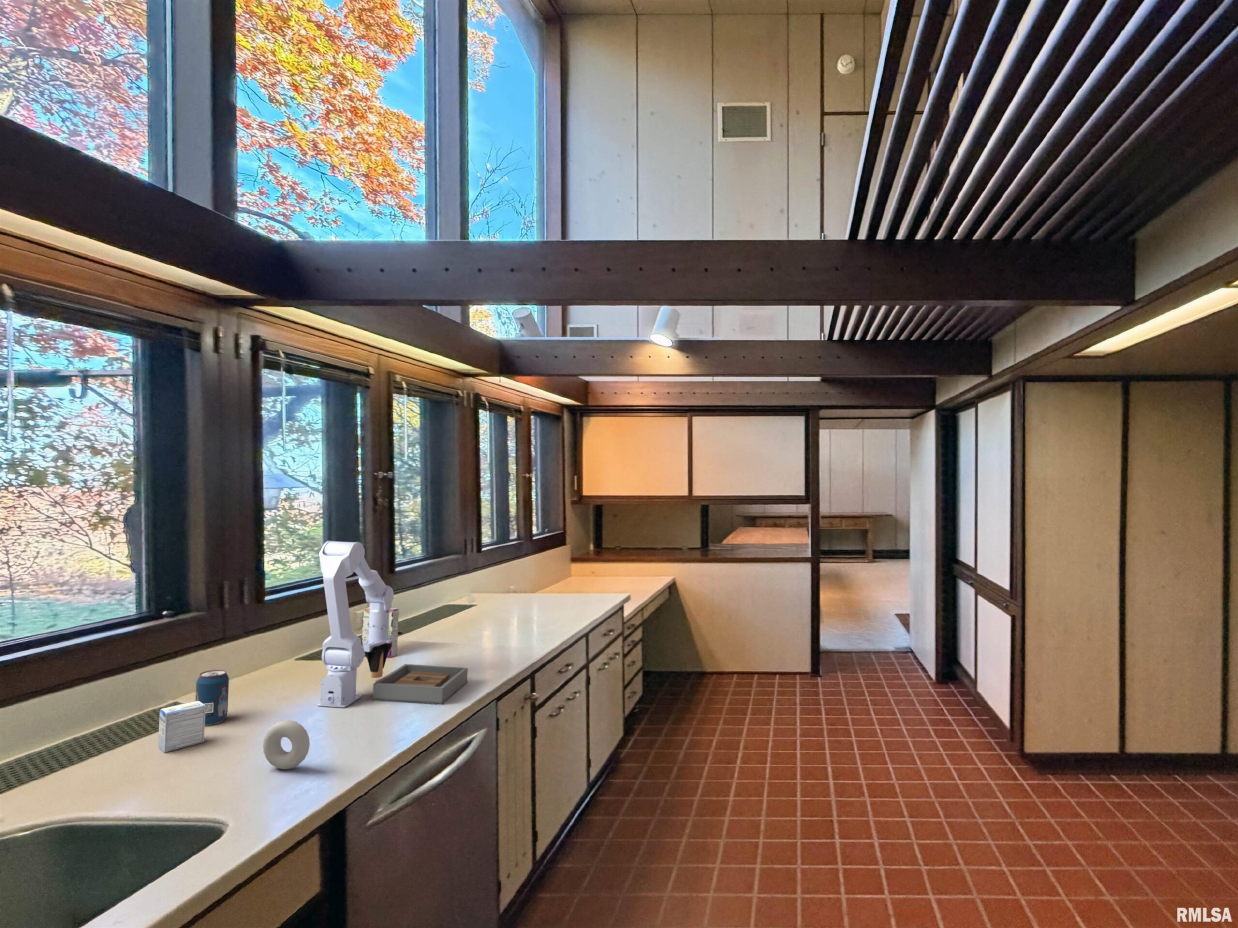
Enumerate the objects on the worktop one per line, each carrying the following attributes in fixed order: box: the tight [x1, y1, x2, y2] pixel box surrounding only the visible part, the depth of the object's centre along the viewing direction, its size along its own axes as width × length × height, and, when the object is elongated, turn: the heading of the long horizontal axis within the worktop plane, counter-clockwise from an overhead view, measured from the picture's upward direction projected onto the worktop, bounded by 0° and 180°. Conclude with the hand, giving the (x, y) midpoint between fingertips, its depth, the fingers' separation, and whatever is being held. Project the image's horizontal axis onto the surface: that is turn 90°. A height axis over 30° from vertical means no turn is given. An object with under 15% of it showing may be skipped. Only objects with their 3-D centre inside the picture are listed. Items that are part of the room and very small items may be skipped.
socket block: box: [394, 671, 450, 687], centre depth 187 cm, size 12×12×3 cm
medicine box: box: [157, 701, 206, 753], centre depth 146 cm, size 8×4×9 cm, turn 141°
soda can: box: [194, 669, 230, 726], centre depth 160 cm, size 7×7×12 cm
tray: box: [372, 663, 469, 705], centre depth 187 cm, size 20×20×4 cm
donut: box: [262, 719, 311, 770], centre depth 135 cm, size 10×4×10 cm, turn 82°
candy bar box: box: [361, 606, 400, 659], centre depth 223 cm, size 11×5×16 cm, turn 84°
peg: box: [370, 652, 384, 679], centre depth 195 cm, size 3×3×7 cm
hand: (377, 669), depth 195 cm, fingers closed on peg, 3 cm apart
